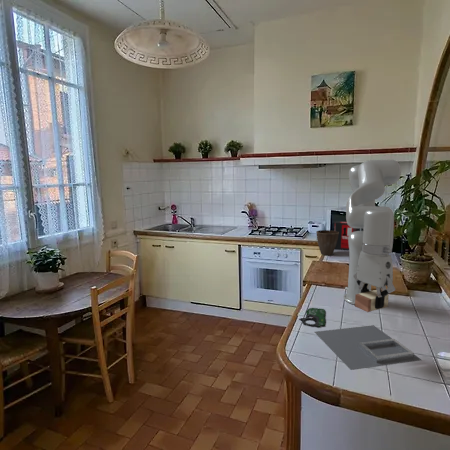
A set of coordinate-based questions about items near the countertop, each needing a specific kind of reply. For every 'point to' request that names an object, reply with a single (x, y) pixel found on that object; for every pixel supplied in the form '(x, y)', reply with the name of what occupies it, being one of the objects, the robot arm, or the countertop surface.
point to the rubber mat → (349, 346)
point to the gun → (315, 317)
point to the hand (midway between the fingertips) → (371, 304)
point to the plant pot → (327, 241)
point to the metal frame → (391, 357)
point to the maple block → (368, 301)
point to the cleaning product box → (343, 235)
